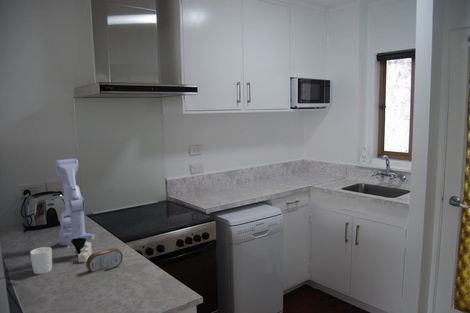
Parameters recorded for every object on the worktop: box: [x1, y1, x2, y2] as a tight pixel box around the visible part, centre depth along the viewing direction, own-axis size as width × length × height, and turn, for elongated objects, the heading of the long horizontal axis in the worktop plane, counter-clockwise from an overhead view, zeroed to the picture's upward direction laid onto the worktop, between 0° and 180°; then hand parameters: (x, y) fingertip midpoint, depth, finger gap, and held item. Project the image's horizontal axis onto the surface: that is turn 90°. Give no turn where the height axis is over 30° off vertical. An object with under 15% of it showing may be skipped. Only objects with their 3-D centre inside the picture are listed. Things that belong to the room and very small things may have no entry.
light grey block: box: [83, 240, 93, 249], centre depth 172 cm, size 4×3×4 cm
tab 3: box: [77, 251, 89, 263], centre depth 159 cm, size 4×3×4 cm
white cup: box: [29, 246, 53, 275], centre depth 150 cm, size 8×8×10 cm
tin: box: [85, 247, 124, 273], centre depth 152 cm, size 15×3×8 cm, turn 131°
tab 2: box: [81, 246, 93, 256], centre depth 166 cm, size 4×3×4 cm
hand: (80, 253), depth 166 cm, fingers closed
